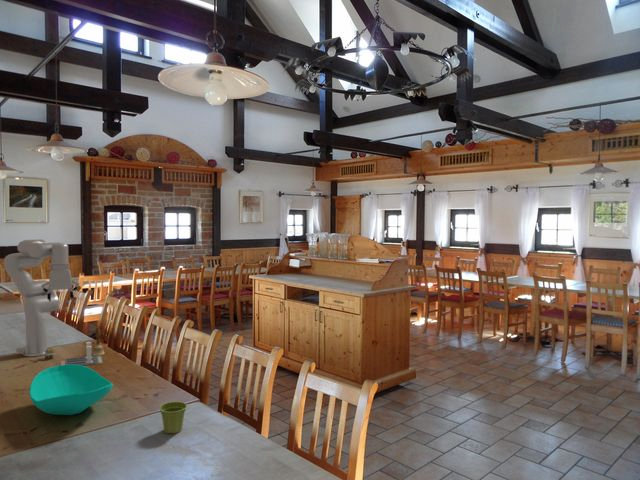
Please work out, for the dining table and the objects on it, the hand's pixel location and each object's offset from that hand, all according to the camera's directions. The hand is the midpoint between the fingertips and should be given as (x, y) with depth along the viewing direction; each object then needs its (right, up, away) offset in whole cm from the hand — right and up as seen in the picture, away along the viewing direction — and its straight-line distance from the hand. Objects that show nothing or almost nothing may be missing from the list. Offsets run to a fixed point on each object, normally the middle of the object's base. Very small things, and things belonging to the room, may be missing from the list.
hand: (60, 300), depth 239 cm
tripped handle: (+18, -31, -6) cm, 36 cm away
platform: (-8, -33, +3) cm, 34 cm away
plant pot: (+82, -37, -73) cm, 116 cm away
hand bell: (+14, -32, +12) cm, 37 cm away
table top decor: (+38, -36, -59) cm, 79 cm away
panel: (+13, -33, -4) cm, 35 cm away
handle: (+14, -31, +2) cm, 34 cm away
